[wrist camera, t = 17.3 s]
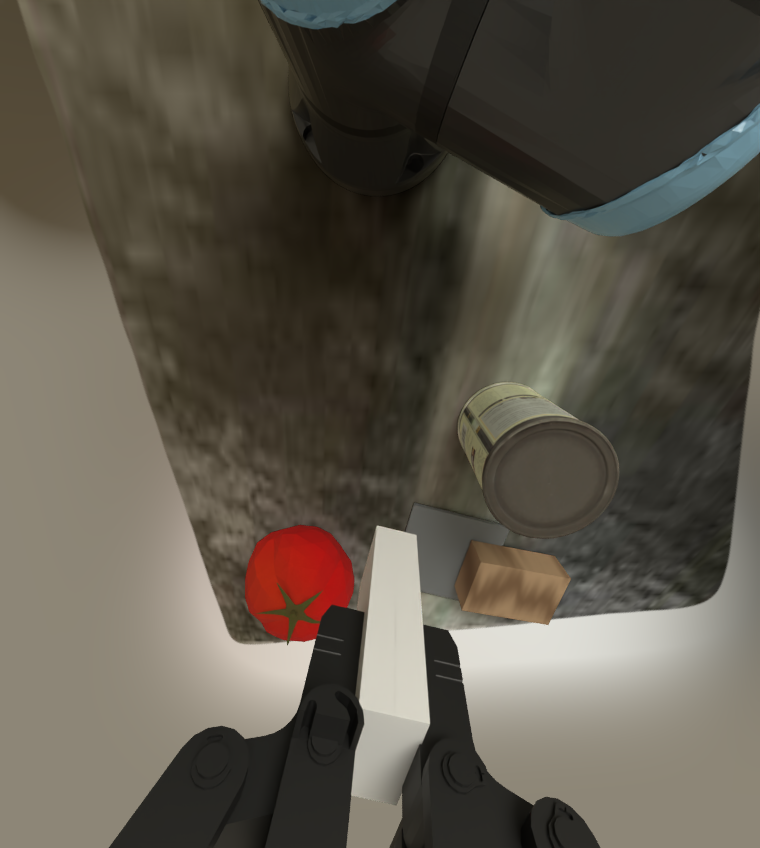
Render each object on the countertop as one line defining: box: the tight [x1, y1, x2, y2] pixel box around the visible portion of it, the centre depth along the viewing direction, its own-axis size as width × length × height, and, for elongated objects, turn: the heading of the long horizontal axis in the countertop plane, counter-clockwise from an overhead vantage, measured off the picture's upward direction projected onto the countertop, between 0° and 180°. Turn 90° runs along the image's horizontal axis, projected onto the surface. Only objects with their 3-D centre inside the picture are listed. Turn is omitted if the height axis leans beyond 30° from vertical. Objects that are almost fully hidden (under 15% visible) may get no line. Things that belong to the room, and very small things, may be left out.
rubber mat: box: [405, 502, 509, 601], centre depth 48 cm, size 12×12×1 cm
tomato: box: [245, 525, 354, 645], centre depth 44 cm, size 13×12×11 cm
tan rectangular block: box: [454, 540, 571, 625], centre depth 46 cm, size 7×4×11 cm
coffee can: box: [458, 382, 619, 539], centre depth 36 cm, size 10×10×14 cm
